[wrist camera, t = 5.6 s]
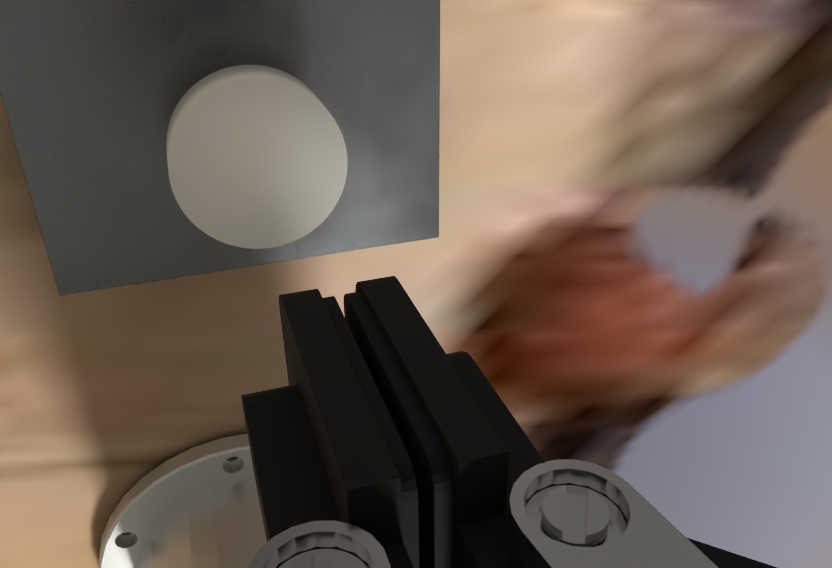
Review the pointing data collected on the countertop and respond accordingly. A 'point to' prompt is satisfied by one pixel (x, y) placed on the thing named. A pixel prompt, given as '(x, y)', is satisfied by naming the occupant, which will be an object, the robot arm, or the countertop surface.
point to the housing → (161, 92)
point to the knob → (255, 157)
